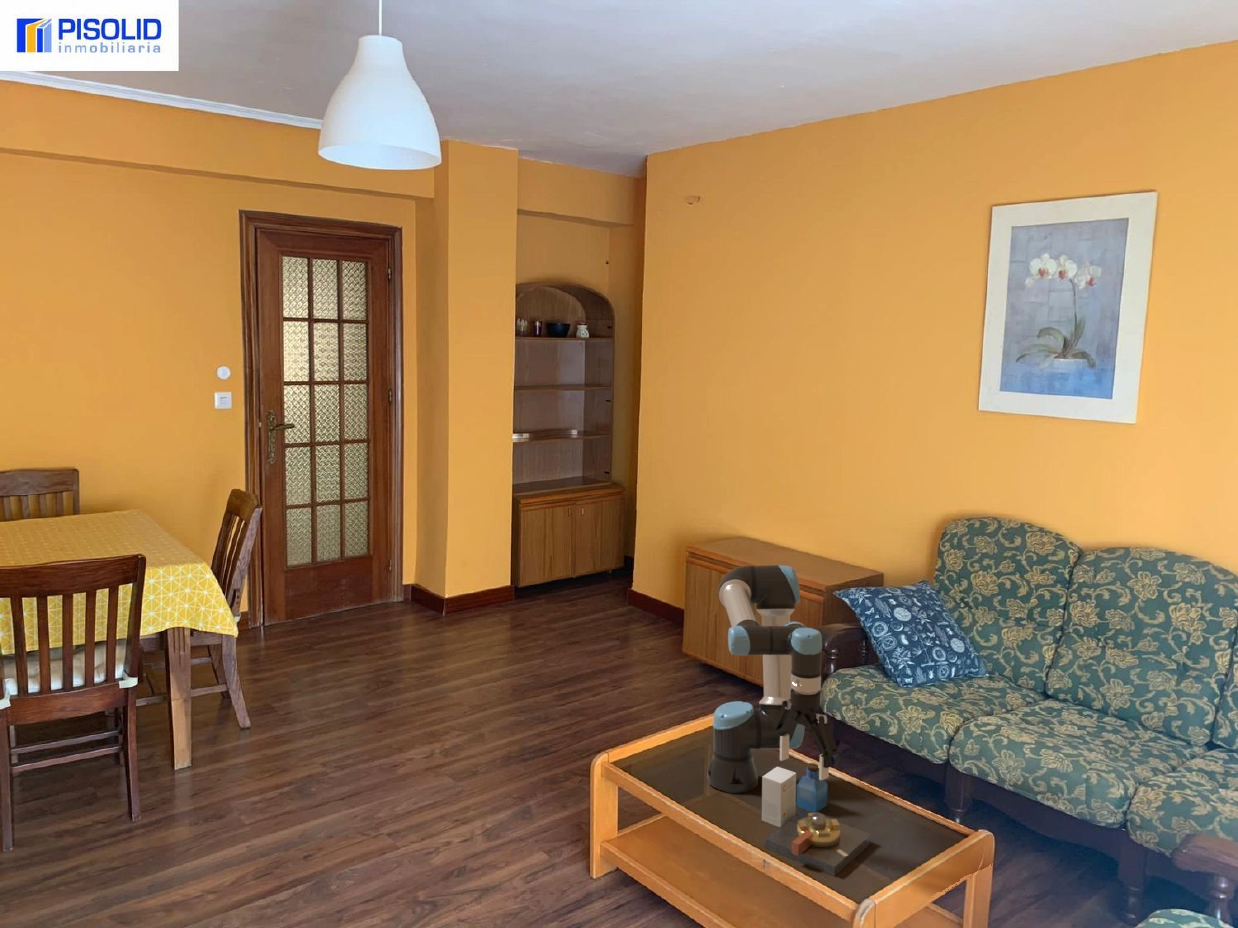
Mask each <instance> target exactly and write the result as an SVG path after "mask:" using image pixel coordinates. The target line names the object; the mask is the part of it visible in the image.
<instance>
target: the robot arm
mask: <svg viewBox="0 0 1238 928" xmlns="http://www.w3.org/2000/svg"><path fill="white" fill-rule="evenodd" d="M717 595H718V598H719V601H720V603H721V605H723V606H724V607H725V609H726V613H727V617H728V620H729V621H730V622H729V623H730V626H731V627H729V628H728V633H727V645H728V650H729V652H730V654H731V655H733V656H743V657H745V656H762V671H763V672H762V675H763V677H762V679H763V696H762V698H761V699H760V700H759V701H758V702H759V703H758V708H754V706H753V705H752V704H751V703H749V702H747V701H745V702H744V701H739V700H737V701H730V702H726V703H723V704H721V705H720V706H718V707H717V708H716V709H715V711H714V714H713V721H712V727H713V745H712V749H713V750H712V751H713V752H712V754H713V755H712V757H711V760H710V763H709V766H708V769H707V772H706V780H707V779H708V781H709V783H710V784H711V785H713V786H714V787H715V788H717V789H719V790H718V791H720V790H723V791H722V792H724V791H725V793H731V794H732V793H733V794H735V793H737V794H739V793H740V794H741V793H746V792H747V793H748V792H749V791H751V790H752V791H753V789H755V788H757V786H758V783H759V774H758V772H757V768H756V764H755V761H754V757H753V750H779V761H780V762H782V761H785V760H788V759H789V758H790V750H791V749H793V750H794V749H798V748H799V747H800V746H801V745H802V744H803V739H804V736H805V728H807V729H808V731H809V732H811V734H812V736H813V738H814V740H815V742H816V744H817V745H818V749H819V750H820V752H821V754H819V765H818V769H819V774H818V775H819V780H826V779H829V777H830V775H829V774H830V773H829V772H830V769H829V768H831V765H832V757H833V756H836V755H837V754H839V751H838V746H837V744H836V741H835V738H834V734H833V732H832V729H831V725H830V716H829V714H820V711H819V708H820V705H821V695H822V694H821V693H822V692H821V689H822V655H823V654H822V651H823V650H822V649H823V646H824V645H823V638H822V637H823V636H822V633H821V632H820V630H818V629H815V628H811V627H807V626H806V625H804V624H803V623H802V622H799V621H791V615H792V614H793V613H794V612H795V610H796V608H795V607H796V605H798V604H800V602H801V587H800V583H799V578H798V575H797V572H796V570H795V569H794V568H793V567H792V566H790V565H779V564H778V565H775V564H774V565H741V566H738V567H735V568H733V569H731V570H730V571H728V572H727V573H725V575H724V576H723V577H722V578H721V580H720V582H719V584H718V590H717ZM754 605H755V608H754ZM756 611H757V612H758V614H760V616H761V624H760V622H759V621H760V620H759V618H758V615H757V613H756ZM709 783H708V784H709ZM715 788H714V789H715ZM717 789H716V790H717Z"/></svg>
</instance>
